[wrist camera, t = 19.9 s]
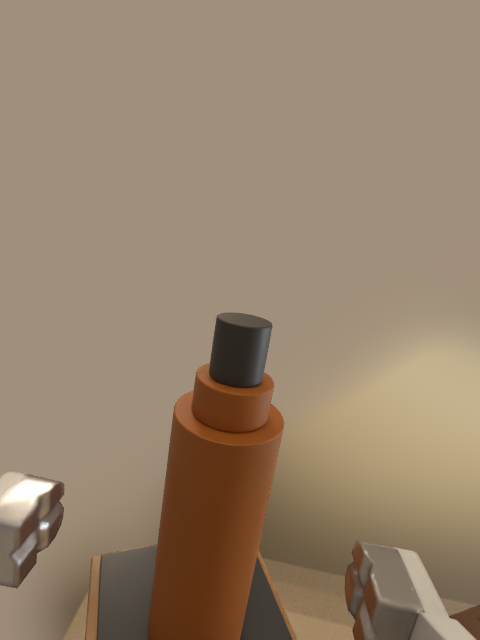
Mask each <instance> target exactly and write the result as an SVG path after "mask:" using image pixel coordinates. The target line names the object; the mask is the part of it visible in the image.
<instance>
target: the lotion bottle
mask: <svg viewBox="0 0 480 640" xmlns="http://www.w3.org/2000/svg"><path fill="white" fill-rule="evenodd" d="M271 330H272V323H271V322H269V321H268V320H265V319H263V318H260V317H257V316H253V315H248V314H241V313H222V314H219V315H217V318H216V325H215V332H214V339H213V347H212V353H211V361H210V363H209V364H206V365H203V366H201V367H200V368H199V369H198V370H197V372H196V378H195V385H194V391H191V392H188V393H186V394H185V395H183V396H182V397H180V399H178V401H177V402H176V404H175V406H174V413H173V421H172V430H171V437H170V446H169V454H168V462H167V471H166V479H165V488H164V495H163V504H162V512H161V520H160V529H159V537H158V545H157V553H156V562H155V570H154V578H153V586H152V595H151V603H150V611H149V620H148V636H149V640H240V636H241V632H242V627H243V622H244V617H245V612H246V607H247V603H248V598H249V593H250V588H251V583H252V578H253V574H254V569H255V564H256V559H257V554H258V549H259V544H260V540H261V534H262V530H263V525H264V520H265V515H266V510H267V506H268V501H269V496H270V491H271V486H272V481H273V476H274V472H275V467H276V462H277V457H278V452H279V448H280V442H281V438H282V433H283V428H284V420H283V417H282V415H281V413H280V412H279V411H278V409H276V407H275V406H273V405H272V404H271V399H272V394H273V389H274V383H273V380H272V378H271V377H270V376H269V375H267V374H266V373H264V368H265V363H266V357H267V352H268V347H269V341H270V336H271Z"/></svg>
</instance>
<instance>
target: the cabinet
mask: <svg viewBox="0 0 480 640" xmlns="http://www.w3.org/2000/svg"><path fill="white" fill-rule="evenodd" d="M449 618H451V619H455V620H457V621H458V622H459V623H460V624H461V625H462V626H463V627H464V628H465V629H466V630H467V631H468V632H469V633H470V634H471V635H472V636H473V637H474V638H475V639H476V640H480V605H478V606H475V607H472V608H470V609H467V610H464V611H462V612H459V613H456V614H454V615H451V616H449Z"/></svg>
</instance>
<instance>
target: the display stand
mask: <svg viewBox="0 0 480 640" xmlns="http://www.w3.org/2000/svg"><path fill="white" fill-rule="evenodd" d="M157 545H158V544H155V545H150V546H144V547H138V548H133V549H127V550H122V551H116V552H111V553H105V554H100V555H94V556H92V559H91V570H90V583H89V595H88V608H87V620H86V633H85V640H149V636H148V620H149V611H150V603H151V595H152V586H153V578H154V570H155V562H156V553H157ZM240 640H297V638H296V636H295V633H294V631H293V629H292V626H291V624H290V622H289V619H288V617H287V615H286V612H285V610H284V608H283V605H282V603H281V601H280V598H279V596H278V594H277V592H276V589H275V587H274V585H273V582H272V580H271V578H270V575H269V573H268V571H267V568H266V566H265V564H264V561H263V559H262V557H261V554H260V552H259V550H258V554H257V559H256V564H255V569H254V574H253V578H252V583H251V588H250V593H249V598H248V603H247V607H246V612H245V617H244V622H243V627H242V632H241V636H240Z"/></svg>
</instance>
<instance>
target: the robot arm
mask: <svg viewBox="0 0 480 640" xmlns="http://www.w3.org/2000/svg"><path fill="white" fill-rule="evenodd" d="M63 495H64V484H63V483H62V482H60V481H55V480H51V479H47V478H42V477H38V476H33V475H29V474H28V475H27V474H22V473H18V472H14V471H10V472H7V473H5V474H3V475H2V476H1V477H0V585H2V586H7V587H14V588H18V587H19V585H20V584H21V583H22V581H23V580H24V578H25V577H26V576H27V574H28V573H29V572H30V570H31V569H32V568H33V567H34V565H35V564H36V559H37V553H38V552H40V551H42V550H43V549H45V548H47V547H48V546H49V545H50V544H51V542H52V541H53V539H54V538H55V536H56V534H57V532H58V530H59V528H60V526H61V523H62V519H63V512H64V508H63V506H62V504H61V503H60V501H59V500H60V499H61V497H62V496H63ZM352 555H353V559H354V562H353V563H351V564H350V565H349V566H348V568H347V572H346V576H345V595H346V602H347V607H348V611H349V612H350V613H351V615H352V616H353V617H354V619H355V624H354V627H353V634H354V639H355V640H476V639H475V638H474V637H473V636H472V635H471V634H470V633H469V632H468V631H467V630H466V629H465V628H464V627H463V626H462V625H461V624H460V623H459V622H458V621H457V620H455V619H451V618H449V616H448V614H447V612H446V610H445V608H444V606H443V604H442V602H441V600H440V598H439V596H438V594H437V592H436V590H435V588H434V585H433V584H432V581H431V579H430V578H429V575H428V573H427V571H426V569H425V568H424V566H423V564H422V561H421V559H420V557H419V556H418V554H416V552H415V551H409V550H404V549H399V548H392V547H387V546H382V545H376V544H371V543H366V542H361V541H356V543H355V544H354V546H353V550H352Z"/></svg>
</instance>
